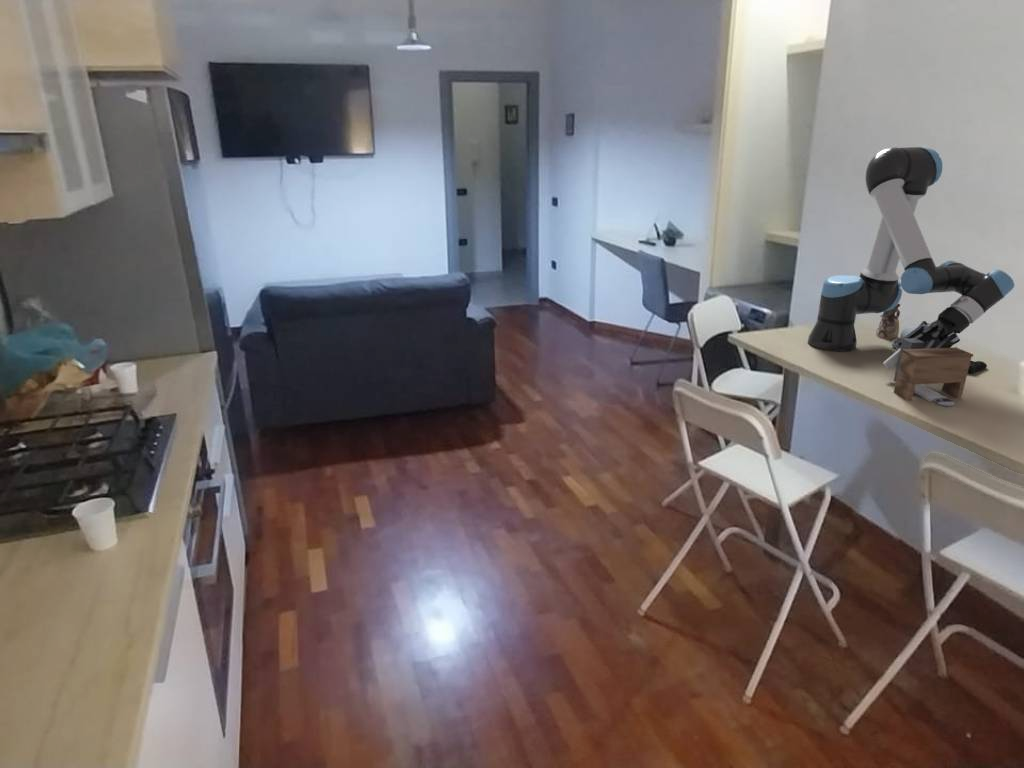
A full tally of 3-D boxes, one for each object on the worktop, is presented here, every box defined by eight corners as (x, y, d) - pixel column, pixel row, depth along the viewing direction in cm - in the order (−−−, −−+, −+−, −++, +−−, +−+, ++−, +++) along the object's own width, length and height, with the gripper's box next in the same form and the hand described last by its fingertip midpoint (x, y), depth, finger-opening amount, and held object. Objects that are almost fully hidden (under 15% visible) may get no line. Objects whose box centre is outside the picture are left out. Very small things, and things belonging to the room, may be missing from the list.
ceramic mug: (918, 344, 234) (923, 323, 231) (930, 352, 226) (934, 329, 223) (886, 344, 235) (890, 323, 232) (897, 351, 227) (901, 329, 224)
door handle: (929, 344, 227) (904, 349, 218) (995, 360, 212) (971, 366, 203) (926, 353, 228) (902, 359, 219) (992, 370, 213) (968, 377, 204)
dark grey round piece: (931, 401, 185) (932, 397, 184) (947, 402, 185) (948, 398, 184) (939, 407, 181) (940, 403, 180) (956, 408, 180) (957, 404, 180)
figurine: (871, 333, 247) (878, 301, 243) (891, 333, 247) (897, 301, 243) (881, 338, 240) (888, 306, 236) (901, 339, 240) (908, 306, 236)
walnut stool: (892, 391, 191) (901, 349, 186) (945, 389, 193) (956, 347, 188) (907, 400, 185) (917, 356, 180) (962, 397, 187) (973, 354, 182)
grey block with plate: (892, 381, 199) (901, 338, 195) (907, 380, 200) (917, 338, 195) (929, 401, 184) (940, 355, 180) (946, 400, 185) (957, 355, 180)
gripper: (930, 297, 200) (866, 351, 204) (979, 315, 182) (908, 373, 186) (941, 315, 202) (879, 367, 206) (991, 334, 185) (921, 390, 189)
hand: (893, 370), depth 196 cm, fingers open, 6 cm apart
